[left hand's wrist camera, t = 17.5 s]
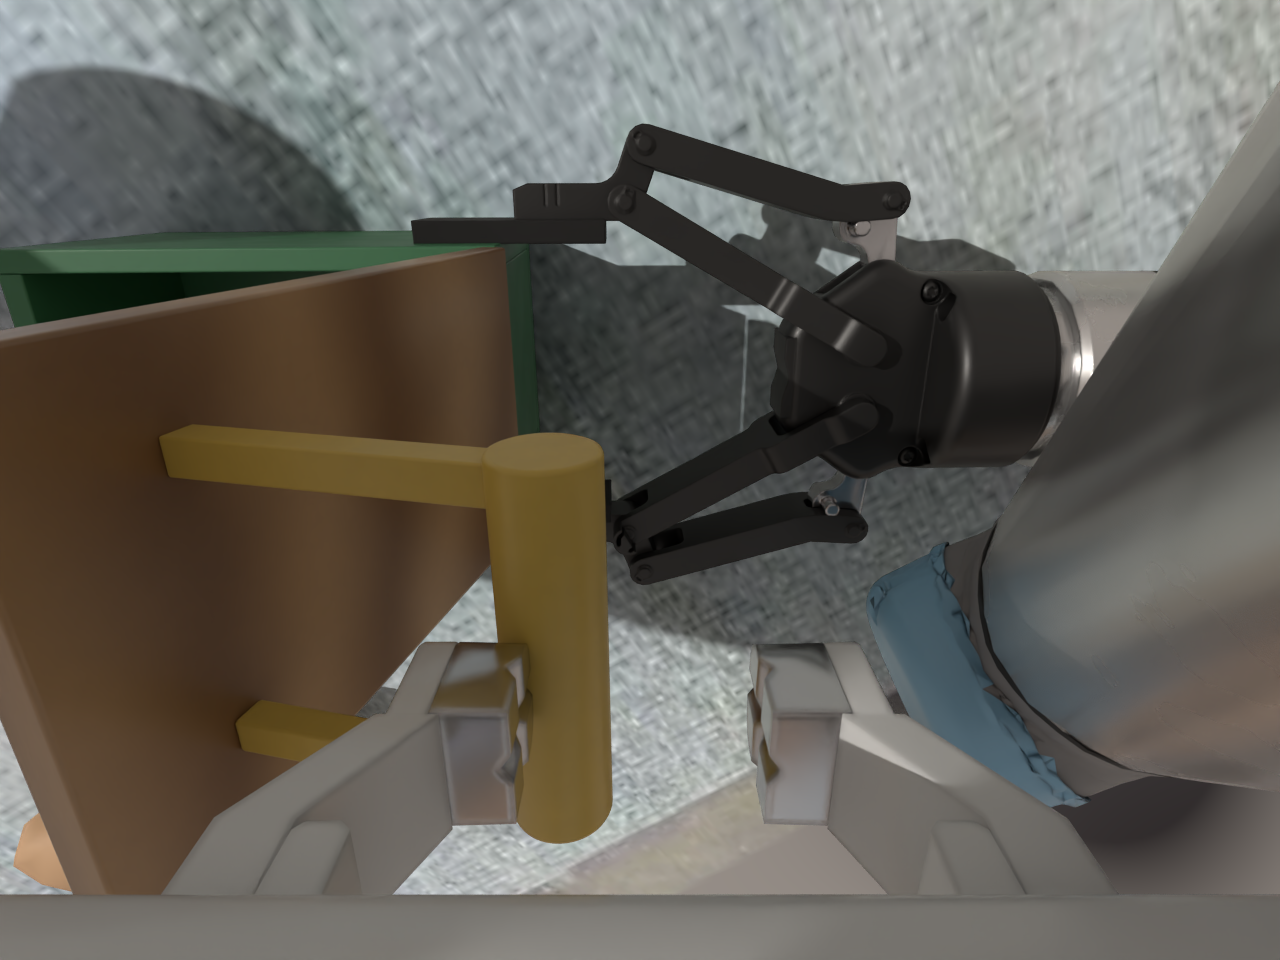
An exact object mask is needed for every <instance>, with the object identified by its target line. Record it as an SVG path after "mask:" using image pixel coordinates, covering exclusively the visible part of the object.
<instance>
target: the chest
mask: <svg viewBox="0 0 1280 960" xmlns="http://www.w3.org/2000/svg"><path fill="white" fill-rule="evenodd" d="M480 247H502V248H504V249H505V256H506V270H507V284H508V298H509V312H510V326H511V340H512V355H513V369H514V383H515V397H516V411H517V425H518V436H520V435H526V434H534V433H540V426H539V409H538V392H537V375H536V358H535V341H534V324H533V307H532V290H531V273H530V256H529V244H500V243H455V244H414V243H413V234H412V231H305V232H163V233H154V234H143V235H133V236H123V237H113V238H103V239H93V240H83V241H72V242H62V243H52V244H42V245H32V246H22V247H11V248H1V249H0V284H1V287H2V290H3V293H4V296H5V299H6V302H7V305H8V308H9V311H10V314H11V317H12V321H13V324H14V327H15V328H16V327H22V326H28V325H33V324H39V323H45V322H51V321H57V320H62V319H68V318H74V317H80V316H86V315H91V314H97V313H103V312H109V311H115V310H120V309H126V308H132V307H138V306H144V305H149V304H155V303H161V302H167V301H173V300H178V299H184V298H190V297H196V296H202V295H207V294H213V293H219V292H225V291H231V290H236V289H242V288H248V287H254V286H259V285H265V284H271V283H277V282H283V281H288V280H294V279H300V278H306V277H312V276H317V275H323V274H329V273H335V272H341V271H346V270H352V269H358V268H364V267H370V266H375V265H381V264H387V263H393V262H399V261H404V260H410V259H416V258H422V257H428V256H433V255H439V254H445V253H451V252H457V251H462V250H468V249H474V248H480Z"/></svg>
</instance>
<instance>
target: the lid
mask: <svg viewBox="0 0 1280 960" xmlns="http://www.w3.org/2000/svg"><path fill="white" fill-rule="evenodd" d="M490 565H491V572H492V583H493V593H494V604H495V615H496V626H497V637H498V643H527V645H528V648H529V654H530V666H531V670H530V675H529V679H528V684H527V689H528V690H529V691H530V692H531V693H532V695H533V735H532V746H531V751H530V757H529V761H528V762H527V763H526V764H525V765H524V766H523V778H524V788H523V793H522V798H521V803H520V807H519V812H518V817H517V823H518V824H519V825H520V827H521V828H522V829H523V830H524V831H525V832H526V833H527V834H528V835H530V836H531V837H533V838H535V839H537V840H540V841H543V842H546V843H554V844H562V843H570V842H574V841H578V840H580V839H583V838H585V837H587V836H589V835H591V834H592V833H593V832H595V831H596V830H597V829H598V828H599V827H601V825H602V824H603V823H604V822H605V820H606V818H607V817H608V815H609V813H610V811H611V807H612V801H613V796H612V756H611V715H610V675H609V634H608V593H607V553H606V512H605V471H604V452H603V450H602V448H601V446H600V445H599V444H598V443H597V442H595V441H594V440H592V439H589V438H586V437H582V436H578V435H573V434H566V433H534V434H526V435H520V436H518V425H517V411H516V397H515V383H514V369H513V355H512V340H511V326H510V312H509V298H508V284H507V270H506V256H505V249H504V248H502V247H480V248H474V249H468V250H462V251H457V252H451V253H445V254H439V255H433V256H428V257H422V258H416V259H410V260H404V261H399V262H393V263H387V264H381V265H375V266H370V267H364V268H358V269H352V270H346V271H341V272H335V273H329V274H323V275H317V276H312V277H306V278H300V279H294V280H288V281H283V282H277V283H271V284H265V285H259V286H254V287H248V288H242V289H236V290H231V291H225V292H219V293H213V294H207V295H202V296H196V297H190V298H184V299H178V300H173V301H167V302H161V303H155V304H149V305H144V306H138V307H132V308H126V309H120V310H115V311H109V312H103V313H97V314H91V315H86V316H80V317H74V318H68V319H62V320H57V321H51V322H45V323H39V324H33V325H28V326H22V327H16V328H10V329H4V330H0V720H1V723H2V725H3V727H4V730H5V732H6V735H7V737H8V739H9V742H10V744H11V747H12V749H13V751H14V754H15V756H16V759H17V761H18V763H19V766H20V768H21V771H22V773H23V775H24V778H25V780H26V783H27V785H28V787H29V790H30V792H31V795H32V797H33V799H34V802H35V804H36V807H37V809H38V811H39V814H40V816H41V819H42V821H43V823H44V826H45V828H46V831H47V833H48V835H49V838H50V840H51V843H52V845H53V847H54V850H55V852H56V855H57V857H58V859H59V862H60V864H61V867H62V869H63V871H64V874H65V876H66V879H67V881H68V883H69V886H70V888H71V891H72V893H73V895H161V894H162V892H163V891H164V889H165V888H166V886H167V885H168V884H169V882H170V881H171V879H172V878H173V876H174V875H175V873H176V872H177V870H178V869H179V868H180V866H181V865H182V863H183V862H184V860H185V859H186V857H187V856H188V854H189V853H190V852H191V850H192V849H193V847H194V846H195V844H196V843H197V841H198V840H199V838H200V837H201V836H202V834H203V833H204V831H205V830H206V828H207V827H208V825H209V824H210V822H211V821H212V820H213V818H214V817H215V816H217V815H219V814H220V813H222V812H223V811H225V810H226V809H228V808H229V807H231V806H233V805H234V804H236V803H237V802H239V801H240V800H242V799H243V798H245V797H247V796H248V795H250V794H251V793H253V792H254V791H256V790H257V789H259V788H261V787H262V786H264V785H265V784H267V783H268V782H270V781H271V780H273V779H275V778H276V777H278V776H279V775H281V774H282V773H284V772H286V771H287V770H289V769H290V768H292V767H293V766H295V765H296V764H298V763H300V762H301V761H303V760H304V759H306V758H307V757H309V756H310V755H312V754H314V753H315V752H317V751H318V750H320V749H321V748H323V747H324V746H326V745H328V744H329V743H331V742H332V741H334V740H335V739H337V738H338V737H340V736H342V735H343V734H345V733H346V732H348V731H349V730H351V729H352V728H354V727H356V726H357V725H359V724H360V723H362V722H363V721H365V720H367V719H368V718H363V717H357V716H355V715H356V714H357V713H358V712H359V711H360V710H361V709H362V708H363V707H364V705H365V704H366V703H367V702H368V701H369V700H370V699H371V698H372V697H373V695H374V694H375V693H376V692H377V691H378V690H379V689H380V688H381V686H382V685H383V684H384V683H385V682H386V681H387V680H388V679H389V678H390V676H391V675H392V674H393V673H394V672H395V671H396V670H397V669H398V668H399V666H400V665H401V664H402V663H403V662H404V661H405V660H406V659H407V658H408V656H409V655H410V654H411V653H412V652H413V651H414V650H415V649H416V647H417V646H418V645H419V644H420V643H421V642H422V641H423V640H424V639H425V637H426V636H427V635H428V634H429V633H430V632H431V631H432V630H433V629H434V627H435V626H436V625H437V624H438V623H439V622H440V621H441V620H442V619H443V617H444V616H445V615H446V614H447V613H448V612H449V611H450V610H451V609H452V607H453V606H454V605H455V604H456V603H457V602H458V601H459V600H460V598H461V597H462V596H463V595H464V594H465V593H466V592H467V591H468V590H469V588H470V587H471V586H472V585H473V584H474V583H475V582H476V581H477V580H478V578H479V577H480V576H481V575H482V574H483V573H484V572H485V571H486V570H487V568H488V567H489V566H490Z"/></svg>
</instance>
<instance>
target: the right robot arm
mask: <svg viewBox="0 0 1280 960" xmlns="http://www.w3.org/2000/svg"><path fill="white" fill-rule="evenodd" d="M654 171H658V172H661V173H664V174H667V175H671V176H674V177H677V178H681V179H684V180H687V181H690V182H694V183H697V184H700V185H703V186H707V187H710V188H713V189H717V190H720V191H723V192H726V193H730V194H733V195H736V196H740V197H743V198H746V199H749V200H753V201H756V202H759V203H762V204H766V205H769V206H772V207H776V208H779V209H782V210H785V211H789V212H792V213H795V214H799V215H802V216H806V217H810V218H815V219H822V220H829V221H832V228H833V233H834V235H835V237H836V238H837V239H838V240H839V241H841V242H845V243H849V244H852V245H854V246H855V247H856V248H857V249H858V251H859V253H860V261H859V262H857V263H856V264H854V265H853V266H851V267H850V268H848V269H847V270H846V271H844V272H843V273H841V274H840V275H839V276H837V277H836V278H834V279H833V280H832V281H830V282H829V283H827V284H826V285H824V286H823V287H822V288H820V289H819V290H817V291H816V292H815V293H813V294H812V293H810V292H809V291H807V290H805V289H804V288H802V287H800V286H799V285H797V284H795V283H794V282H792V281H790V280H788V279H787V278H785V277H783V276H782V275H780V274H778V273H777V272H775V271H773V270H772V269H770V268H768V267H767V266H765V265H764V264H762V263H760V262H759V261H757V260H755V259H754V258H752V257H750V256H749V255H747V254H745V253H744V252H742V251H740V250H739V249H737V248H735V247H734V246H732V245H730V244H729V243H727V242H725V241H724V240H722V239H721V238H719V237H717V236H716V235H714V234H712V233H711V232H709V231H707V230H706V229H704V228H702V227H701V226H699V225H697V224H696V223H694V222H692V221H691V220H689V219H687V218H686V217H684V216H682V215H681V214H679V213H678V212H676V211H674V210H673V209H671V208H669V207H668V206H666V205H664V204H663V203H661V202H659V201H658V200H656V199H654V198H653V197H651V196H649V195H648V194H646V193H647V190H648V187H649V184H650V181H651V178H652V175H653V172H654ZM910 200H911V197H910V191H909V190H908V188H907V186H906V185H904V184H903V183H901V182H894V181H893V182H866V183H854V184H842V185H841V184H838V183H835V182H832V181H829V180H825V179H822V178H819V177H816V176H813V175H809V174H806V173H803V172H800V171H797V170H794V169H790V168H787V167H784V166H781V165H778V164H774V163H771V162H768V161H765V160H762V159H758V158H755V157H752V156H749V155H746V154H742V153H739V152H736V151H733V150H730V149H727V148H723V147H720V146H717V145H714V144H711V143H707V142H704V141H701V140H698V139H695V138H691V137H688V136H685V135H682V134H679V133H675V132H672V131H669V130H666V129H663V128H659V127H656V126H653V125H650V124H640V125H637V126H635V127H634V128H633V129H632V130H631V131H630V132H629V134H628V137H627V139H626V142H625V145H624V148H623V152H622V155H621V158H620V161H619V164H618V167H617V169H616V171H615V173H614V174H613V175H612V177H610V178H609V179H608V180H606V181H604V182H602V183H527V184H525V185H522V186H520V187H518V188H516V189H513V202H514V218H426V219H419V220H413V221H411V226H412V234H413V243H414V244H455V243H500V244H606V221H620V222H622V223H624V224H625V225H627V226H629V227H630V228H632V229H634V230H635V231H637V232H639V233H641V234H642V235H644V236H646V237H647V238H649V239H651V240H652V241H654V242H656V243H658V244H659V245H661V246H663V247H664V248H666V249H668V250H669V251H671V252H673V253H674V254H676V255H678V256H680V257H681V258H683V259H685V260H686V261H688V262H690V263H691V264H693V265H695V266H696V267H698V268H700V269H702V270H703V271H705V272H707V273H708V274H710V275H712V276H713V277H715V278H717V279H719V280H720V281H722V282H724V283H725V284H727V285H729V286H730V287H732V288H734V289H735V290H737V291H739V292H741V293H742V294H744V295H746V296H747V297H749V298H751V299H752V300H754V301H756V302H757V303H759V304H761V305H763V306H764V307H766V308H768V309H769V310H771V311H772V312H774V313H775V314H777V315H779V316H780V317H782V318H784V319H783V320H782V322H781V324H780V327H779V328H775V335H774V351H775V356H776V361H777V370H776V373H775V376H774V379H773V382H772V385H771V396H770V405H771V407H772V408H773V410H774V411H772V412H770V413H768V414H766V415H764V416H763V417H761V418H759V419H757V420H756V421H754V422H753V423H752V424H751V426H750V427H749V428H748V429H747V430H745V431H743V432H742V433H740V434H738V435H736V436H734V437H732V438H730V439H729V440H727V441H725V442H723V443H721V444H719V445H717V446H716V447H714V448H712V449H710V450H708V451H706V452H704V453H703V454H701V455H699V456H697V457H695V458H693V459H691V460H690V461H688V462H686V463H684V464H682V465H680V466H678V467H677V468H675V469H673V470H671V471H669V472H667V473H665V474H664V475H662V476H660V477H658V478H656V479H654V480H652V481H651V482H649V483H647V484H645V485H643V486H641V487H639V488H638V489H636V490H634V491H632V492H630V493H628V494H626V495H625V496H623V497H621V498H619V499H618V500H617V501H611V480H605V512H606V542H611V543H613V544H614V547H615V549H616V550H617V551H618V552H619V553H621V554H623V555H624V557H625V559H626V561H627V564H628V566H629V568H630V576H631V578H632V579H633V581H635V582H636V583H637V584H641V585H647V584H652V583H656V582H659V581H663V580H667V579H671V578H675V577H678V576H682V575H686V574H690V573H693V572H697V571H701V570H705V569H709V568H712V567H716V566H720V565H724V564H727V563H731V562H735V561H739V560H743V559H746V558H750V557H754V556H758V555H761V554H765V553H769V552H773V551H777V550H780V549H784V548H788V547H792V546H795V545H799V544H803V543H807V542H831V543H857V542H859V541H861V540H863V539H864V538H865V536H866V535H867V532H868V525H867V523H866V521H865V520H864V518H863V517H862V516H861V509H862V504H863V499H864V494H865V489H866V484H867V480H868V478H871V477H873V476H876V475H877V474H879V473H881V472H883V471H886V470H888V469H891V468H895V467H917V468H955V467H1003V466H1008V465H1011V464H1013V463H1017V464H1019V465H1023V466H1027V467H1032V469H1031V470H1030V472H1029V473H1028V475H1027V477H1026V478H1025V480H1024V481H1023V483H1022V484H1021V486H1020V488H1019V489H1018V491H1017V492H1016V494H1015V495H1014V497H1013V498H1012V500H1011V502H1010V503H1009V505H1008V506H1007V508H1006V509H1005V511H1004V513H1003V514H1002V515H1001V516H1000V517H999V518H998V519H997V521H996V522H995V524H994V525H993V527H992V528H991V529H989V530H987V531H985V532H983V533H980V534H978V535H975V536H973V537H970V538H968V539H965V540H962V541H960V542H957V543H954V544H952V545H949V542H945V543H943V544H940V545H938V546H935V547H933V548H932V550H931V551H930V553H929V554H927V555H925V556H923V557H921V558H919V559H917V560H915V561H913V562H911V563H909V564H907V565H905V566H903V567H901V568H899V569H897V570H895V571H893V572H891V573H889V574H887V575H885V576H883V577H881V578H880V579H879V580H878V581H877V582H875V583H874V585H873V586H872V588H871V589H870V591H869V594H868V596H867V601H866V610H867V615H868V619H869V623H870V626H871V629H872V632H873V635H874V637H875V640H876V643H877V645H878V648H879V650H880V652H881V655H882V657H883V660H884V662H885V664H886V666H887V669H888V671H889V673H890V675H891V678H892V680H893V682H894V684H895V687H896V689H897V691H898V693H899V695H900V698H901V700H902V702H903V704H904V706H905V708H906V710H907V712H908V714H909V716H910V717H911V718H912V719H914V720H915V721H917V722H918V723H920V724H921V725H923V726H925V727H926V728H928V729H929V730H931V731H932V732H934V733H935V734H937V735H939V736H940V737H942V738H943V739H945V740H946V741H948V742H949V743H951V744H952V745H954V746H956V747H957V748H959V749H960V750H962V751H963V752H965V753H966V754H968V755H970V756H971V757H973V758H974V759H976V760H977V761H979V762H980V763H982V764H984V765H985V766H987V767H988V768H990V769H991V770H993V771H994V772H996V773H998V774H999V775H1001V776H1002V777H1004V778H1005V779H1007V780H1008V781H1010V782H1011V783H1013V784H1015V785H1016V786H1018V787H1019V788H1021V789H1022V790H1024V791H1025V792H1027V793H1029V794H1030V795H1032V796H1033V797H1035V798H1036V799H1038V800H1039V801H1041V802H1043V803H1044V804H1046V805H1047V806H1049V807H1053V806H1057V805H1060V804H1066V805H1070V806H1073V807H1077V806H1080V805H1082V804H1085V803H1087V802H1090V801H1091V799H1090V798H1088V796H1091V795H1093V794H1096V793H1098V792H1101V791H1103V790H1106V789H1109V788H1111V787H1114V786H1117V785H1119V784H1122V783H1125V782H1129V781H1133V780H1136V779H1140V778H1144V777H1147V776H1160V777H1171V778H1179V779H1187V780H1195V781H1202V782H1209V783H1217V784H1225V785H1232V786H1239V787H1247V788H1254V789H1262V790H1269V791H1276V792H1280V81H1279V83H1278V84H1277V86H1276V87H1275V89H1274V90H1273V92H1272V93H1271V95H1270V97H1269V98H1268V100H1267V101H1266V103H1265V104H1264V106H1263V108H1262V109H1261V111H1260V112H1259V114H1258V115H1257V117H1256V119H1255V120H1254V122H1253V123H1252V125H1251V126H1250V128H1249V129H1248V131H1247V133H1246V134H1245V136H1244V137H1243V139H1242V140H1241V142H1240V144H1239V145H1238V147H1237V148H1236V150H1235V151H1234V153H1233V154H1232V156H1231V158H1230V159H1229V161H1228V162H1227V164H1226V165H1225V167H1224V169H1223V170H1222V172H1221V173H1220V175H1219V176H1218V178H1217V179H1216V181H1215V183H1214V184H1213V186H1212V187H1211V189H1210V190H1209V192H1208V194H1207V195H1206V197H1205V198H1204V200H1203V201H1202V203H1201V205H1200V206H1199V208H1198V209H1197V211H1196V212H1195V214H1194V215H1193V217H1192V219H1191V220H1190V222H1189V223H1188V225H1187V226H1186V228H1185V230H1184V231H1183V233H1182V234H1181V236H1180V237H1179V239H1178V240H1177V242H1176V244H1175V245H1174V247H1173V248H1172V250H1171V251H1170V253H1169V255H1168V256H1167V258H1166V259H1165V261H1164V262H1163V264H1162V265H1161V267H1160V269H1159V270H1158V271H1037V272H1035V273H1032V274H1030V275H1026V274H1024V273H1022V272H1019V271H913V270H910V269H908V268H906V267H905V266H903V265H902V264H900V263H899V262H896V261H895V254H896V235H897V218H898V217H900V216H901V215H903V214H904V213H905V212H906V210H907V209H908V207H909V204H910ZM816 456H819V457H820V458H822V459H823V460H824V461H826V462H827V463H828V464H830V465H831V466H833V467H834V468H835V469H837V472H836V474H835V475H834V476H833V477H832V478H831V479H829V480H827V481H823V482H816V483H814V484H813V485H812V486H811V488H810V490H809V492H797V493H789V494H785V495H780V496H777V497H773V498H769V499H765V500H762V501H758V502H754V503H751V504H747V505H743V506H740V507H736V508H732V509H728V510H725V511H721V512H717V513H714V514H710V515H706V516H703V517H699V518H695V519H691V520H688V521H684V522H680V521H682V520H684V519H686V518H688V517H690V516H692V515H694V514H696V513H697V512H699V511H701V510H703V509H705V508H707V507H709V506H711V505H713V504H715V503H716V502H718V501H720V500H722V499H724V498H726V497H728V496H730V495H732V494H734V493H736V492H737V491H739V490H741V489H743V488H745V487H747V486H749V485H751V484H753V483H755V482H757V481H758V480H760V479H762V478H764V477H766V476H768V475H770V474H774V473H777V474H781V473H785V472H787V471H789V470H791V469H793V468H795V467H797V466H799V465H801V464H803V463H805V462H806V461H808V460H810V459H812V458H814V457H816ZM678 522H680V523H678ZM676 523H677V524H676Z"/></svg>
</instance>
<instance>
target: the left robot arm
mask: <svg viewBox="0 0 1280 960" xmlns="http://www.w3.org/2000/svg"><path fill="white" fill-rule="evenodd" d="M749 669H750V674H751V679H752V683H753V689H752V690H751V691H750V692H749V693H748V696H747V735H748V744H749V750H750V756H751V761H752V762H753V763H754V764H755V765H757V780H756V787H757V792H758V797H759V801H760V806H761V811H762V816H763V821H764V824H790V825H826V826H828V830H829V831H830V832H831V833H832V834H833V835H834V836H835V837H836V838H837V839H838V840H839V842H840V843H841V844H842V845H843V846H844V847H845V848H846V849H847V850H848V851H849V852H850V853H851V855H852V856H853V857H854V858H855V859H856V860H857V861H858V862H859V863H860V864H861V865H862V867H863V868H864V869H865V870H866V871H867V872H868V873H869V874H870V875H871V876H872V877H873V878H874V880H875V881H876V882H877V883H878V884H879V885H880V886H881V887H882V888H883V889H884V890H885V891H886V893H887V894H888V895H789V894H788V895H787V894H784V895H783V894H780V895H777V894H776V895H775V894H773V895H771V894H769V895H768V894H765V895H764V894H759V895H758V894H725V895H724V894H723V895H721V894H717V895H716V894H713V895H392V894H393V893H394V892H395V891H396V890H397V889H398V888H399V887H400V886H401V884H402V883H403V882H404V881H405V880H406V879H407V878H408V877H409V876H410V875H411V874H412V873H413V871H414V870H415V869H416V868H417V867H418V866H419V865H420V864H421V863H422V862H423V861H424V860H425V858H426V857H427V856H428V855H429V854H430V853H431V852H432V851H433V850H434V849H435V848H436V847H437V846H438V844H439V843H440V842H441V841H442V840H443V839H444V838H445V837H446V836H447V835H448V834H449V833H450V831H451V830H452V826H455V825H489V824H516V822H517V817H518V812H519V807H520V803H521V798H522V793H523V788H524V778H523V766H524V765H525V764H526V763H527V762H528V761H529V757H530V751H531V746H532V735H533V695H532V693H531V692H530V691H529V690H528V689H527V684H528V679H529V675H530V670H531V666H530V654H529V648H528V645H527V643H483V642H459V643H457V642H424V643H423V644H421V645H420V646H419V647H418V649H417V651H416V653H415V655H414V657H413V659H412V661H411V663H410V665H409V667H408V669H407V671H406V673H405V675H404V677H403V679H402V681H401V683H400V686H399V688H398V690H397V692H396V694H395V696H394V698H393V700H392V702H391V704H390V706H389V708H388V710H387V712H386V714H374V715H373V716H371V717H370V718H368V719H367V720H365V721H363V722H362V723H360V724H359V725H357V726H356V727H354V728H352V729H351V730H349V731H348V732H346V733H345V734H343V735H342V736H340V737H338V738H337V739H335V740H334V741H332V742H331V743H329V744H328V745H326V746H324V747H323V748H321V749H320V750H318V751H317V752H315V753H314V754H312V755H310V756H309V757H307V758H306V759H304V760H303V761H301V762H300V763H298V764H296V765H295V766H293V767H292V768H290V769H289V770H287V771H286V772H284V773H282V774H281V775H279V776H278V777H276V778H275V779H273V780H271V781H270V782H268V783H267V784H265V785H264V786H262V787H261V788H259V789H257V790H256V791H254V792H253V793H251V794H250V795H248V796H247V797H245V798H243V799H242V800H240V801H239V802H237V803H236V804H234V805H233V806H231V807H229V808H228V809H226V810H225V811H223V812H222V813H220V814H219V815H217V816H215V817H214V818H213V820H212V821H211V822H210V824H209V825H208V827H207V828H206V830H205V831H204V833H203V834H202V836H201V837H200V838H199V840H198V841H197V843H196V844H195V846H194V847H193V849H192V850H191V852H190V853H189V854H188V856H187V857H186V859H185V860H184V862H183V863H182V865H181V866H180V868H179V869H178V870H177V872H176V873H175V875H174V876H173V878H172V879H171V881H170V882H169V884H168V885H167V886H166V888H165V889H164V891H163V892H162V894H161V895H0V960H1280V894H1119V893H1118V892H1117V890H1116V889H1115V887H1114V886H1113V885H1112V883H1111V882H1110V880H1109V879H1108V877H1107V876H1106V874H1105V873H1104V871H1103V870H1102V868H1101V867H1100V865H1099V864H1098V863H1097V861H1096V860H1095V858H1094V857H1093V855H1092V854H1091V852H1090V851H1089V849H1088V848H1087V846H1086V845H1085V843H1084V842H1083V841H1082V839H1081V838H1080V836H1079V835H1078V833H1077V832H1076V830H1075V829H1074V827H1073V826H1072V824H1071V823H1070V822H1069V820H1068V819H1067V818H1066V817H1064V816H1063V815H1061V814H1060V813H1058V812H1057V811H1055V810H1053V809H1052V808H1050V807H1049V806H1047V805H1046V804H1044V803H1043V802H1041V801H1039V800H1038V799H1036V798H1035V797H1033V796H1032V795H1030V794H1029V793H1027V792H1025V791H1024V790H1022V789H1021V788H1019V787H1018V786H1016V785H1015V784H1013V783H1011V782H1010V781H1008V780H1007V779H1005V778H1004V777H1002V776H1001V775H999V774H998V773H996V772H994V771H993V770H991V769H990V768H988V767H987V766H985V765H984V764H982V763H980V762H979V761H977V760H976V759H974V758H973V757H971V756H970V755H968V754H966V753H965V752H963V751H962V750H960V749H959V748H957V747H956V746H954V745H952V744H951V743H949V742H948V741H946V740H945V739H943V738H942V737H940V736H939V735H937V734H935V733H934V732H932V731H931V730H929V729H928V728H926V727H925V726H923V725H921V724H920V723H918V722H917V721H915V720H914V719H912V718H911V717H909V716H907V715H906V714H894V712H893V710H892V708H891V706H890V704H889V702H888V700H887V698H886V696H885V694H884V692H883V690H882V688H881V686H880V683H879V681H878V679H877V677H876V675H875V673H874V671H873V669H872V667H871V665H870V663H869V661H868V659H867V657H866V655H865V653H864V651H863V649H862V647H861V645H860V644H858V643H857V642H855V641H852V642H823V643H802V644H752V648H751V653H750V666H749Z"/></svg>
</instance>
